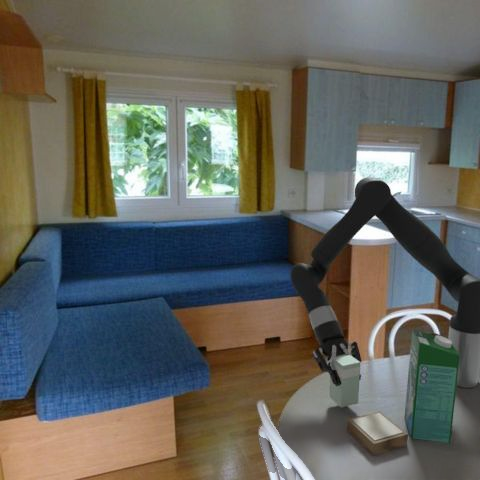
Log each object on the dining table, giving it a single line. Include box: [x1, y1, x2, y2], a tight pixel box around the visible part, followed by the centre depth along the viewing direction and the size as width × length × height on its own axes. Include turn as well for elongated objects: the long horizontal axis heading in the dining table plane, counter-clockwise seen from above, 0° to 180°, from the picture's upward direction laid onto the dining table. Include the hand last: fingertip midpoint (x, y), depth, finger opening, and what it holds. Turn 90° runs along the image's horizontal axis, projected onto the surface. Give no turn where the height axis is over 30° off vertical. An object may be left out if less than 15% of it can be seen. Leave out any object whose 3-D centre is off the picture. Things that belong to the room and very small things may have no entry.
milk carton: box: [404, 328, 460, 444], centre depth 105 cm, size 9×9×25 cm
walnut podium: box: [346, 411, 409, 457], centre depth 104 cm, size 10×10×3 cm
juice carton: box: [329, 354, 361, 408], centre depth 115 cm, size 6×6×12 cm
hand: (348, 382), depth 114 cm, fingers closed on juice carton, 5 cm apart
